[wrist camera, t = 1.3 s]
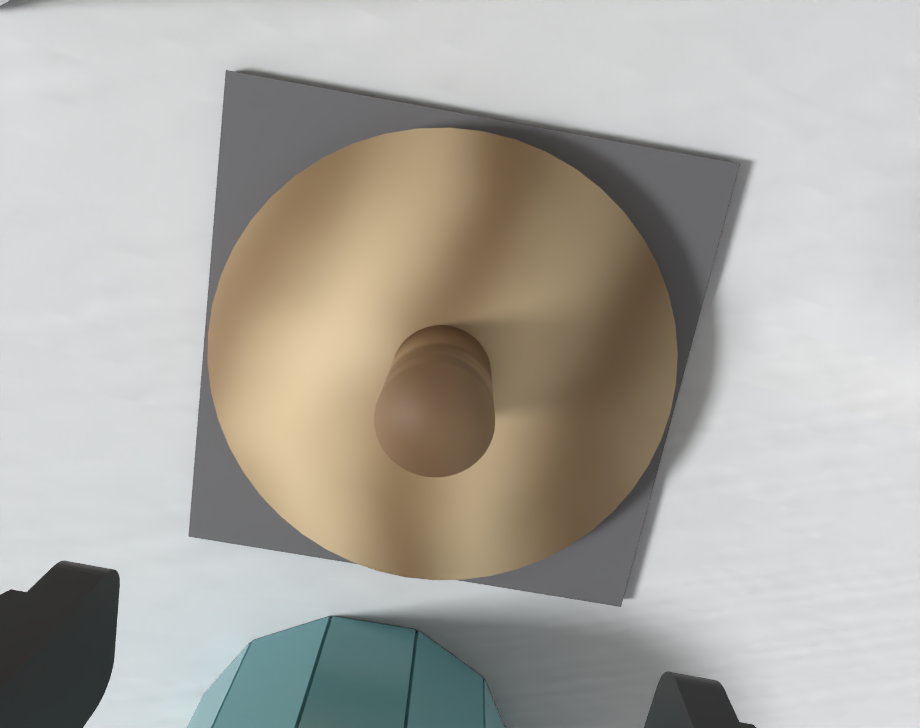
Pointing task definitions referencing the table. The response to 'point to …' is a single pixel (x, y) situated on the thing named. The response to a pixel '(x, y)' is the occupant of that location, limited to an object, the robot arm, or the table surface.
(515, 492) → the lid
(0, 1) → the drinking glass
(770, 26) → the table surface
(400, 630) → the bowl
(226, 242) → the mat
